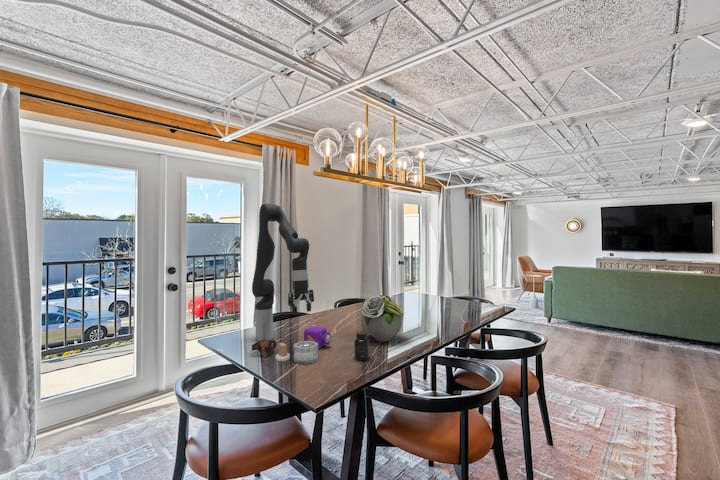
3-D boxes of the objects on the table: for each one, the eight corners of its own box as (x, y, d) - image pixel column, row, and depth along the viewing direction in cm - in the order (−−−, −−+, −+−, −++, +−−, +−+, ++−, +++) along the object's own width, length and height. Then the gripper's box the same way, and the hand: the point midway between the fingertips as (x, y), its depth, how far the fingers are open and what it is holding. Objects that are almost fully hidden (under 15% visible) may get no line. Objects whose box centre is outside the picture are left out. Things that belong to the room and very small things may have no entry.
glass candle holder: (289, 358, 159) (289, 344, 159) (310, 353, 166) (310, 339, 166) (300, 365, 150) (300, 350, 150) (322, 360, 157) (322, 345, 157)
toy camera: (327, 350, 170) (327, 330, 170) (301, 349, 173) (301, 329, 173) (333, 344, 181) (333, 325, 181) (309, 342, 184) (309, 324, 183)
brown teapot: (258, 360, 159) (251, 344, 161) (254, 363, 166) (248, 347, 168) (281, 349, 166) (274, 333, 167) (277, 352, 173) (270, 337, 175)
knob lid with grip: (273, 358, 160) (273, 344, 160) (286, 355, 164) (285, 341, 164) (279, 362, 155) (278, 347, 155) (291, 359, 159) (291, 344, 159)
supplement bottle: (353, 356, 162) (353, 331, 162) (368, 355, 163) (368, 330, 162) (355, 361, 155) (354, 335, 155) (369, 361, 156) (369, 334, 156)
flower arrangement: (353, 343, 181) (352, 297, 181) (369, 331, 204) (369, 290, 204) (398, 349, 172) (398, 300, 171) (410, 335, 195) (410, 292, 195)
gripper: (306, 277, 174) (308, 309, 173) (283, 280, 163) (285, 315, 162) (316, 277, 169) (318, 310, 168) (293, 281, 158) (295, 316, 157)
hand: (302, 312), depth 165 cm, fingers open, 8 cm apart
